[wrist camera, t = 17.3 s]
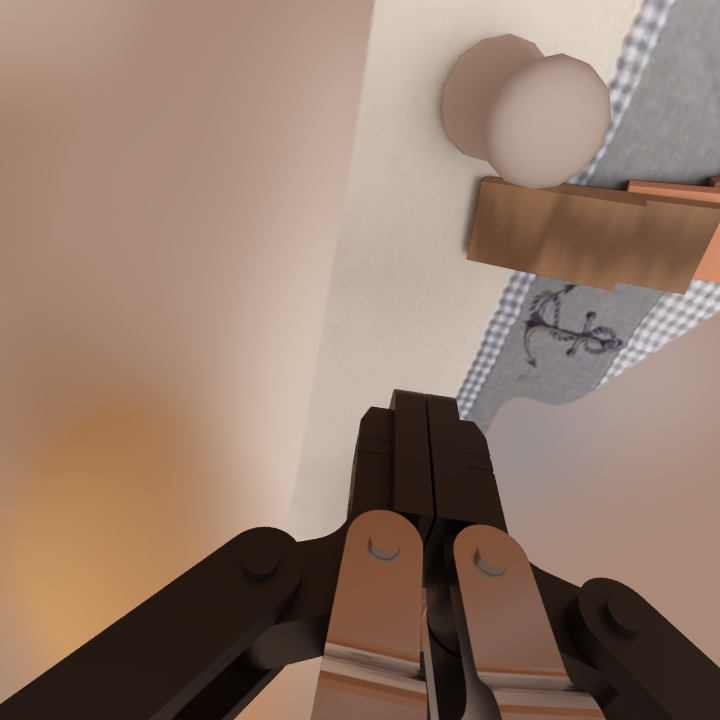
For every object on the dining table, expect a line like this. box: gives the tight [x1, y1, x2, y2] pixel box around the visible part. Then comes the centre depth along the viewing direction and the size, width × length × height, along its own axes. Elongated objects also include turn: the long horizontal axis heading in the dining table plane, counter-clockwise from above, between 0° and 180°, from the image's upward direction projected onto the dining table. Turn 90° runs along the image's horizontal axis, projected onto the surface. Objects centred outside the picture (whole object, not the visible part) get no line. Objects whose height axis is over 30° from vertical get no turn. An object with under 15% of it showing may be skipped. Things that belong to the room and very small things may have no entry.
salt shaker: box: [441, 34, 611, 189], centre depth 21 cm, size 6×6×13 cm
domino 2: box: [557, 183, 720, 295], centre depth 28 cm, size 5×2×9 cm
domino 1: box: [467, 176, 647, 291], centre depth 28 cm, size 5×2×9 cm
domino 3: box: [626, 180, 720, 283], centre depth 27 cm, size 5×2×9 cm
